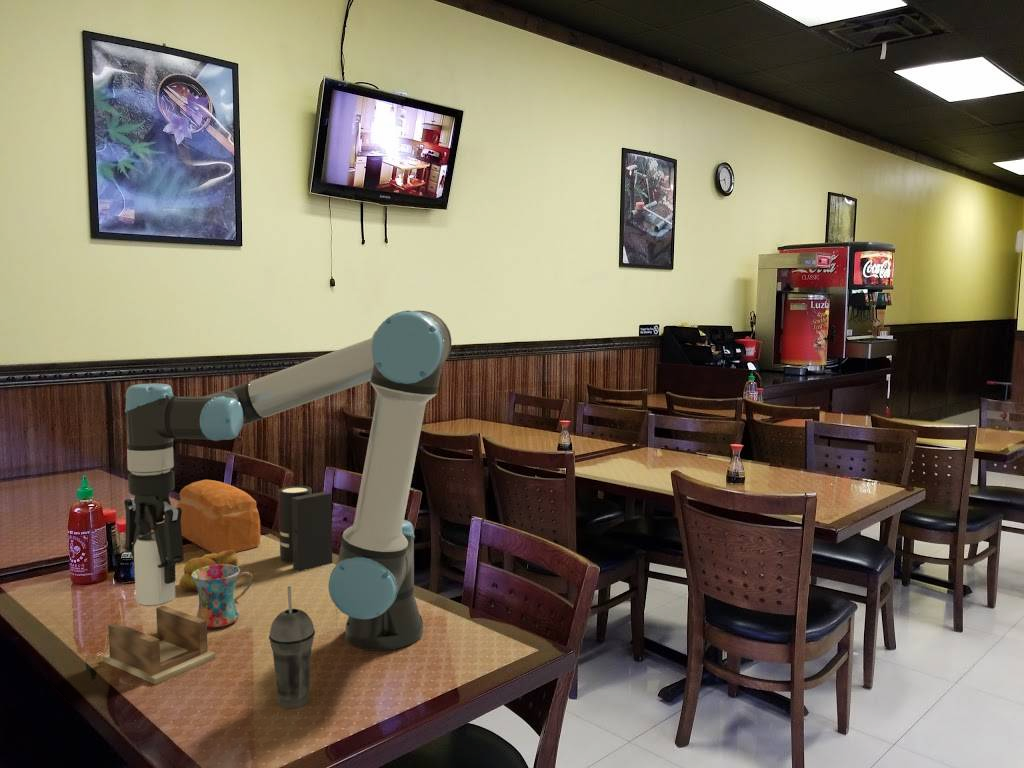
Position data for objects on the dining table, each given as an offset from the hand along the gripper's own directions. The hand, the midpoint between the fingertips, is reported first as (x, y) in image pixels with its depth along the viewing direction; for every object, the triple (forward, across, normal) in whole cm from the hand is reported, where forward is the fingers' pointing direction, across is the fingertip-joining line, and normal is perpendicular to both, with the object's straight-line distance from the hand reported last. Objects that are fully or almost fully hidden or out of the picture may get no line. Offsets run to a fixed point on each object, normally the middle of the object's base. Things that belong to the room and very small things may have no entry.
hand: (155, 595), depth 143 cm
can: (+1, 0, 0) cm, 1 cm away
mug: (+12, +5, -18) cm, 23 cm away
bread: (+13, +51, -52) cm, 74 cm away
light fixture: (+12, +20, -53) cm, 58 cm away
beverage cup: (+12, -32, -3) cm, 35 cm away
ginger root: (+13, +25, -29) cm, 41 cm away
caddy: (+12, 0, 0) cm, 12 cm away
